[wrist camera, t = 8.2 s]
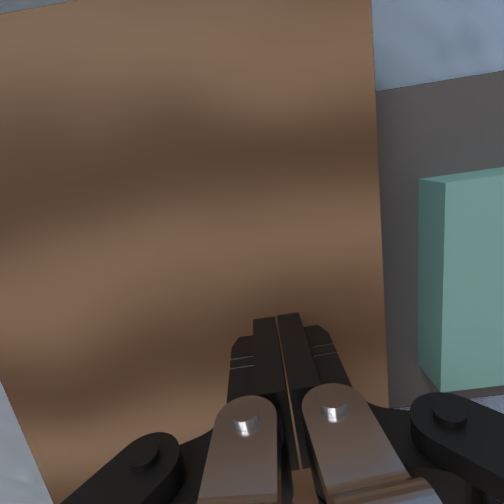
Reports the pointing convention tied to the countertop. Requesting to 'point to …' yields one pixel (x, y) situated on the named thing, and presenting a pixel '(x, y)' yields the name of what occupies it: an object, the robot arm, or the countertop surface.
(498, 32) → the countertop surface
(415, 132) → the mat
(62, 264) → the brown flat block
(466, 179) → the teal rectangular block
